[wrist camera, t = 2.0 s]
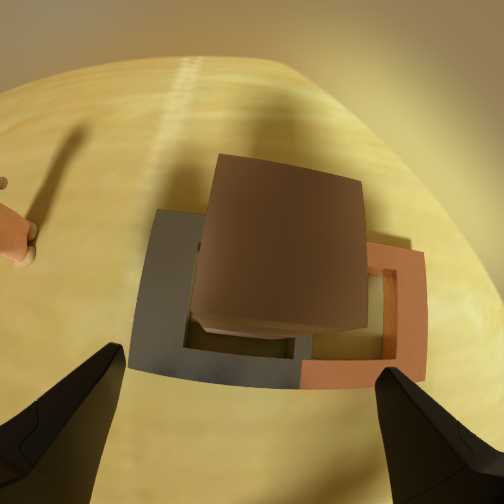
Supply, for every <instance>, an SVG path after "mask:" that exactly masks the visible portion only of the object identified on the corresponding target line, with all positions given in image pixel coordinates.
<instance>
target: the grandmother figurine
mask: <svg viewBox="0 0 504 504" xmlns="http://www.w3.org/2000/svg"><path fill="white" fill-rule="evenodd" d="M7 183H8V181H7V179H6V178H5V177H0V190H3V189H5V188H6V186H7ZM37 230H38V227H37V225H36V224H34V223H32V222H30V221H27V220H26V219H24V218H23V217H22V216H20V215H19V214H18V213H16V212H15V211H13V210H11V209H10V208H8V207H6V206H4V205H3V204H1V203H0V254H2V255H3V256H5V257H7V258H9V259H12V260H13V262H14V264H15V266H16V267H18V268H21V267H24V266H26V265H29V264H31V263H32V262H33V260H34V258H35V249H34V247H33V246H27V241H30V240H33V239H34V238H35V236H36V234H37Z"/></svg>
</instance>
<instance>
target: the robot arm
mask: <svg viewBox="0 0 504 504" xmlns="http://www.w3.org/2000/svg"><path fill="white" fill-rule="evenodd" d="M125 367H126V360H125V355H124V350H123V346H122V345H121V344H117V343H113V342H110V343H108V344H107V345H105V346H104V347H103V348H102V349H100V350H99V351H98V352H96V353H95V354H94V355H93V356H91V357H90V358H89V359H87V360H86V361H85V362H84V363H82V364H81V365H80V366H79V367H77V368H76V369H75V370H73V371H72V372H71V373H70V374H68V375H67V376H66V377H65V378H63V379H62V380H61V381H60V382H58V383H57V384H56V385H55V386H53V387H52V388H51V389H50V390H48V391H47V392H46V393H45V394H43V395H42V396H41V397H40V398H38V399H37V401H34V402H33V403H32V404H31V405H30V406H28V407H27V408H26V409H24V410H23V411H22V412H20V413H19V414H18V415H16V416H15V417H13V418H12V419H10V420H9V421H7V422H6V423H4V424H2V425H1V426H0V504H90V499H91V495H92V491H93V487H94V483H95V479H96V475H97V471H98V467H99V464H100V460H101V456H102V453H103V449H104V446H105V443H106V439H107V436H108V433H109V430H110V426H111V423H112V420H113V417H114V414H115V411H116V407H117V404H118V399H119V394H120V389H121V385H122V380H123V376H124V372H125ZM375 393H376V401H377V410H378V418H379V424H380V429H381V434H382V439H383V444H384V449H385V454H386V460H387V466H388V472H389V478H390V485H391V492H392V499H393V504H504V453H503V452H500V451H497V450H496V449H494V448H493V447H491V446H490V445H488V444H487V443H486V442H484V441H483V440H481V439H480V438H479V437H477V436H476V435H475V434H473V433H472V432H471V431H470V430H468V429H467V428H466V427H465V426H464V425H462V424H461V423H460V422H459V421H458V420H456V419H455V418H454V417H453V416H452V415H451V414H450V413H449V412H447V411H446V410H445V409H444V408H443V407H442V406H441V405H439V404H438V403H437V402H436V401H435V400H434V399H433V398H431V397H430V396H429V395H428V394H427V393H426V392H424V391H423V390H422V389H421V388H420V387H419V386H418V385H416V384H415V383H414V382H413V381H412V380H411V379H409V378H408V377H407V376H406V375H405V374H404V373H402V372H401V371H400V370H399V369H398V368H397V367H394V366H393V367H386V368H384V369H383V371H382V372H381V374H380V375H379V377H378V378H377V379H376V381H375Z"/></svg>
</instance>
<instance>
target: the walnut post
mask: <svg viewBox="0 0 504 504" xmlns="http://www.w3.org/2000/svg"><path fill="white" fill-rule="evenodd" d="M190 311H191V312H192V313H193V315H194V316H195V318H196V319H197V320H198V322H199V323H200V325H201V326H202V327H203V329H204V330H205V331H206V332H208V333H215V334H223V335H231V336H239V337H248V338H258V339H269V340H272V339H283V338H293V337H302V336H311V335H319V334H327V333H334V332H341V331H348V330H354V329H361V328H367V324H368V262H367V240H366V225H365V213H364V202H363V192H362V184H361V181H358V180H354V179H350V178H346V177H342V176H338V175H333V174H329V173H325V172H320V171H316V170H311V169H307V168H302V167H297V166H292V165H287V164H281V163H276V162H270V161H265V160H259V159H253V158H246V157H240V156H233V155H226V154H219V155H218V160H217V165H216V169H215V174H214V179H213V183H212V188H211V193H210V198H209V203H208V208H207V213H206V219H205V224H204V229H203V235H202V241H201V246H200V252H199V258H198V264H197V270H196V276H195V283H194V289H193V296H192V303H191V310H190Z"/></svg>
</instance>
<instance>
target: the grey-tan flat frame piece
mask: <svg viewBox="0 0 504 504" xmlns="http://www.w3.org/2000/svg"><path fill="white" fill-rule="evenodd" d="M205 219H206V215H199V214H192V213H184V212H177V211H169V210H161V209H157V212H156V215H155V219H154V223H153V227H152V231H151V235H150V239H149V244H148V248H147V252H146V257H145V261H144V266H143V271H142V276H141V281H140V286H139V292H138V297H137V303H136V309H135V315H134V321H133V328H132V335H131V343H130V351H129V360H128V368H131V369H135V370H139V371H144V372H148V373H153V374H158V375H163V376H169V377H174V378H180V379H186V380H192V381H199V382H206V383H214V384H223V385H232V386H243V387H255V388H272V389H350V388H366V387H375V381H376V379H377V378H378V377H379V375H380V374H381V372H382V371H383V369H384V368H386V367H393V366H394V367H397V368H398V369H399V370H400V371H401V372H402V373H404V374H405V375H406V376H407V377H408V378H409V379H411V380H412V381H413V382H420V381H425V373H426V360H427V336H428V308H427V284H426V270H425V259H424V252H419V251H415V250H410V249H405V248H400V247H394V246H389V245H384V244H379V243H374V242H368V241H367V262H368V274H369V275H376V276H383V280H384V328H383V350H382V359H373V360H316V359H311V356H312V344H313V335H311V336H302V337H293V338H288V339H287V350H286V358H276V357H263V356H252V355H242V354H232V353H224V352H216V351H208V350H201V349H195V348H188V347H186V343H187V335H188V327H189V319H190V312H191V311H190V310H191V303H192V296H193V289H194V283H195V276H196V270H197V264H198V258H199V252H200V246H201V241H202V235H203V229H204V224H205Z"/></svg>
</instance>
